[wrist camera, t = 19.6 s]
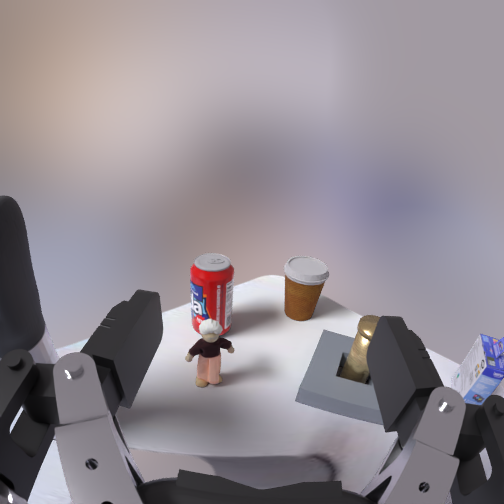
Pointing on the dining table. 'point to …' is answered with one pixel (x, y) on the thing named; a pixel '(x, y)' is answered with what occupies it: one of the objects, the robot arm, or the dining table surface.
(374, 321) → the brass sleeve
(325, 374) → the jig plate
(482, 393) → the ink cartridge box
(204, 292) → the soda can
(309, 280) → the disposable coffee cup
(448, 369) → the dining table surface
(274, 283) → the dining table surface
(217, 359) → the grandmother figurine
